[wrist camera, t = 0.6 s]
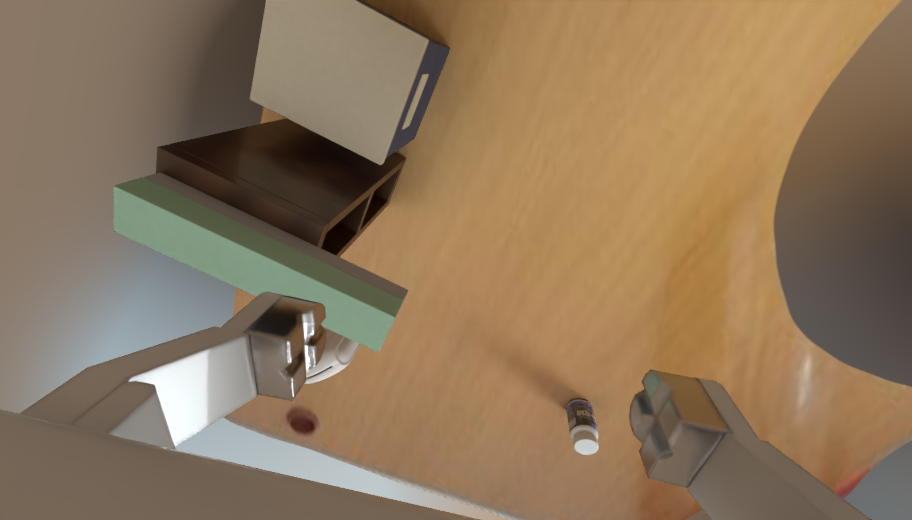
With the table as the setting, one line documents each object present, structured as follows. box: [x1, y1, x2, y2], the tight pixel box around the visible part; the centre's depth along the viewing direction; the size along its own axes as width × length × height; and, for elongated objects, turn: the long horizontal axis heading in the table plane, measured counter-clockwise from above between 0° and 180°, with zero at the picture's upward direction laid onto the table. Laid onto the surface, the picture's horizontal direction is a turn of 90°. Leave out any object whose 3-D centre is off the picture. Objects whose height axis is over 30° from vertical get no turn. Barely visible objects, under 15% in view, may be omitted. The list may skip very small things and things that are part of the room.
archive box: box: [250, 0, 450, 165], centre depth 41 cm, size 14×12×15 cm
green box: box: [113, 172, 408, 352], centre depth 30 cm, size 22×4×4 cm, turn 65°
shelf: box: [156, 118, 406, 257], centre depth 43 cm, size 14×8×26 cm, turn 65°
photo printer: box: [305, 328, 361, 384], centre depth 63 cm, size 10×4×12 cm, turn 123°
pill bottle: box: [567, 399, 599, 455], centre depth 66 cm, size 5×5×8 cm
